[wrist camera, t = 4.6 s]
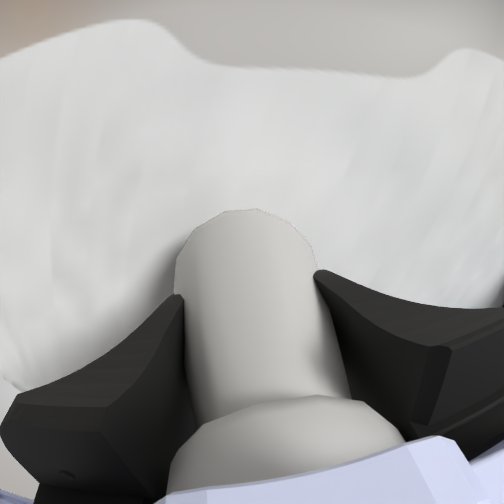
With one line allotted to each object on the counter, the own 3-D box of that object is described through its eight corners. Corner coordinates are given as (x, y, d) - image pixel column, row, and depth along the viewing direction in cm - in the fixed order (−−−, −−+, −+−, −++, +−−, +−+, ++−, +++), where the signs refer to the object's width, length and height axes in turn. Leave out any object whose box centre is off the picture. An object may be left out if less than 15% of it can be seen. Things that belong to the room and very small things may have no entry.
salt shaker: (288, 317, 16) (378, 565, 4) (176, 306, 16) (138, 582, 3) (313, 207, 15) (544, 421, 2) (187, 189, 14) (52, 478, 2)
